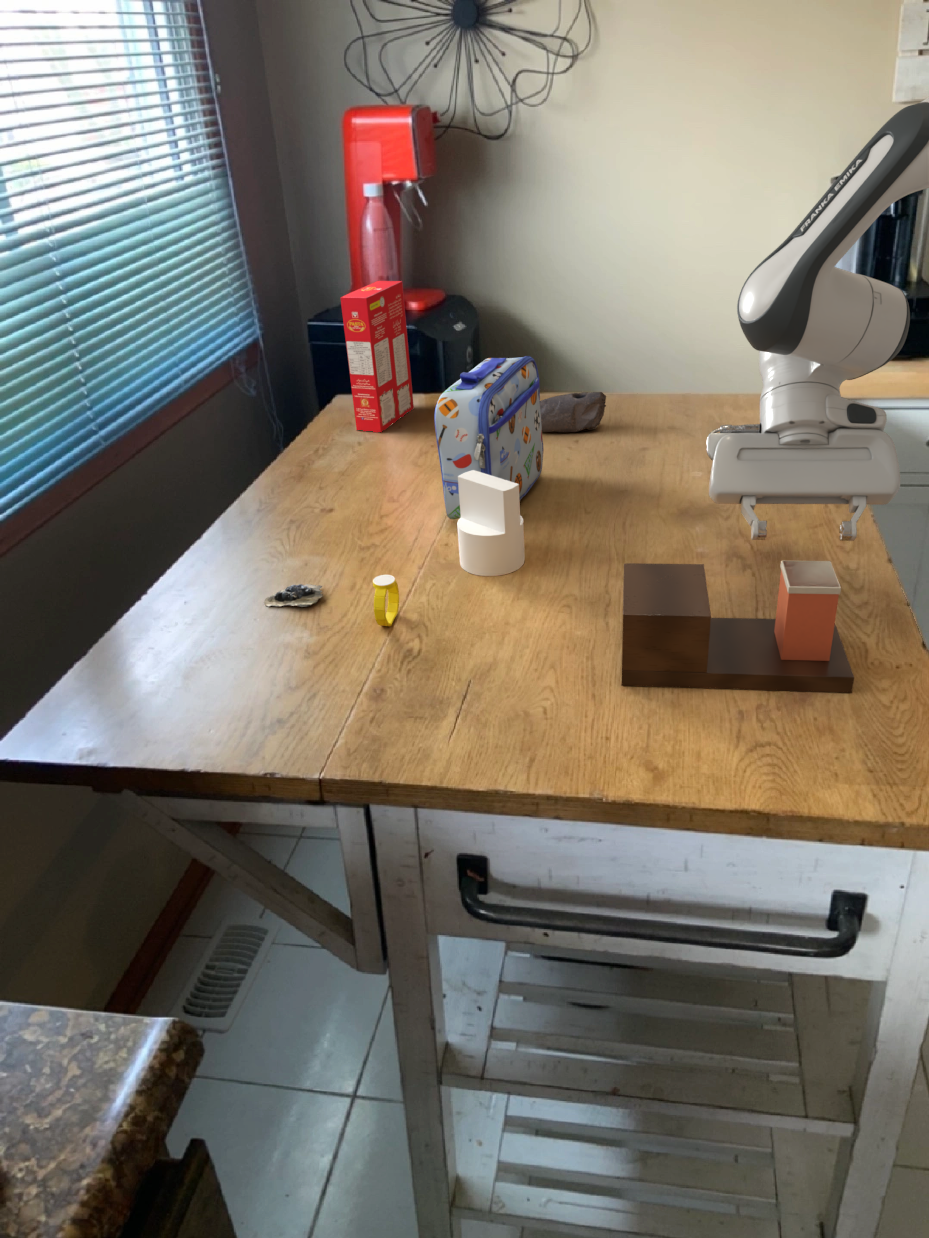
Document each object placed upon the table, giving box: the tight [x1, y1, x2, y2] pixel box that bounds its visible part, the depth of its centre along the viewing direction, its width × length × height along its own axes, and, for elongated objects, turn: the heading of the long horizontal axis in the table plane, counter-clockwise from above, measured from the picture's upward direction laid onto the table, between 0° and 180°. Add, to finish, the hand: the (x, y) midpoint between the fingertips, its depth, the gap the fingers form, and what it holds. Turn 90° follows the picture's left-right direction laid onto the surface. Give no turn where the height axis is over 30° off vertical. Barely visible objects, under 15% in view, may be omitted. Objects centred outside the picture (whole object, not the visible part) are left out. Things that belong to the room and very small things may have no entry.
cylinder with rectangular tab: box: [456, 470, 526, 577], centre depth 132 cm, size 9×9×12 cm
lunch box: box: [433, 355, 544, 520], centre depth 147 cm, size 28×10×22 cm, turn 161°
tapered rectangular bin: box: [774, 560, 842, 661], centre depth 105 cm, size 5×6×9 cm
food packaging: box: [340, 280, 415, 433], centre depth 186 cm, size 15×5×25 cm, turn 157°
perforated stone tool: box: [540, 391, 607, 433], centre depth 178 cm, size 15×5×7 cm, turn 87°
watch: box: [372, 574, 400, 627], centre depth 120 cm, size 6×3×6 cm, turn 167°
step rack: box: [620, 562, 855, 694], centre depth 107 cm, size 24×12×9 cm, turn 81°
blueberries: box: [263, 583, 324, 608], centre depth 128 cm, size 7×8×2 cm
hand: (803, 538), depth 107 cm, fingers open, 8 cm apart
